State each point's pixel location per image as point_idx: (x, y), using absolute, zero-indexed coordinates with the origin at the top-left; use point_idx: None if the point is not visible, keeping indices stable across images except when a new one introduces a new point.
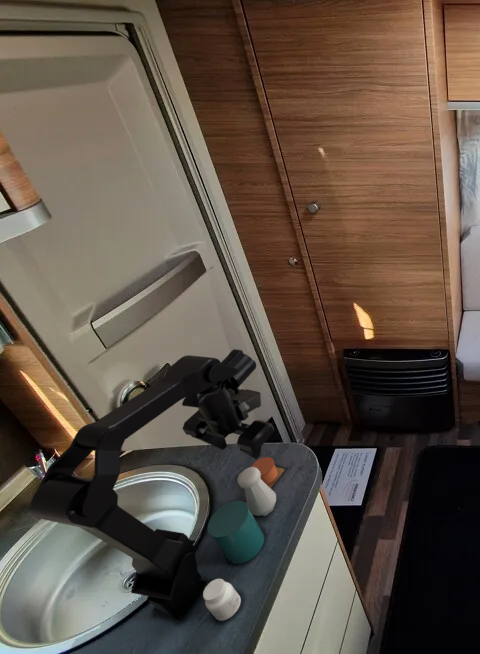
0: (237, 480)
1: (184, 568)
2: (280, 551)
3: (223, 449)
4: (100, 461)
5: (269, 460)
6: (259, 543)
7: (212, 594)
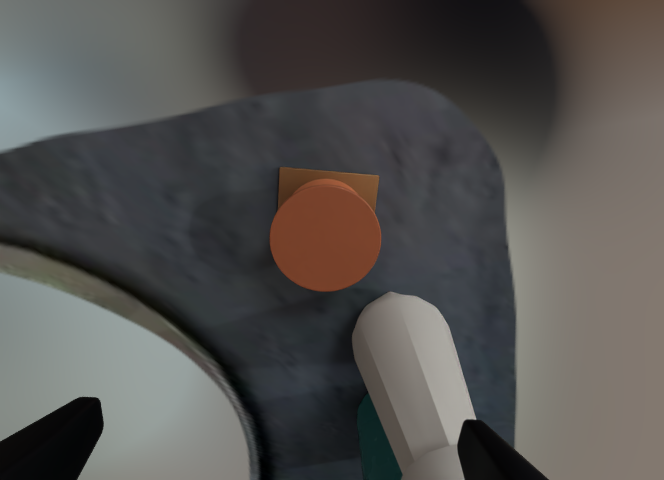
0: None
1: None
2: (508, 410)
3: (99, 431)
4: None
5: (343, 204)
6: None
7: None
